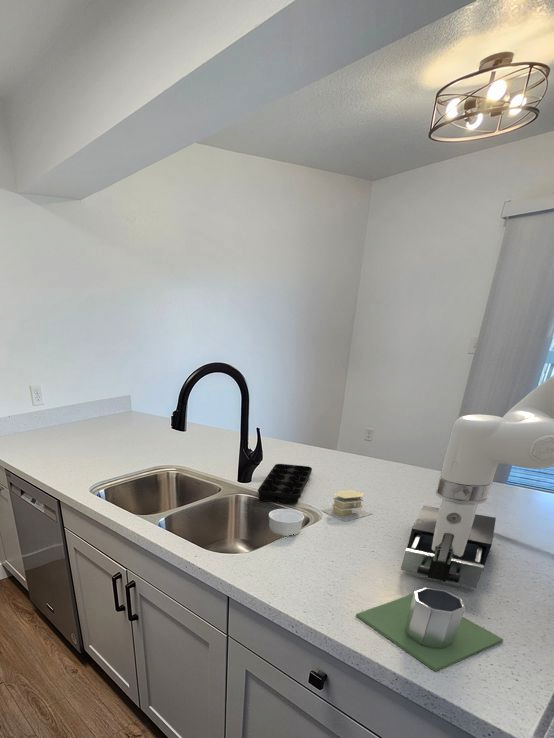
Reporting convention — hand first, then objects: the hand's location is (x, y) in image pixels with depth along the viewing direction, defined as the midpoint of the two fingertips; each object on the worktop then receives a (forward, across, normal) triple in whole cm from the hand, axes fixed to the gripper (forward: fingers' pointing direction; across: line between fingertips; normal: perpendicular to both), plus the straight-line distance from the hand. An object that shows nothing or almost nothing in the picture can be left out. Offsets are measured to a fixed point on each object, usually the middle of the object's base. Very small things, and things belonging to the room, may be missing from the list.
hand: (437, 577), depth 84 cm
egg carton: (+4, +43, +47) cm, 64 cm away
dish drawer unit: (+4, +23, 0) cm, 23 cm away
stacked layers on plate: (+4, +33, +25) cm, 42 cm away
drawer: (+3, +10, 0) cm, 11 cm away
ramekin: (+4, +14, +36) cm, 38 cm away
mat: (+4, -12, 0) cm, 13 cm away
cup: (+4, -15, -1) cm, 15 cm away
